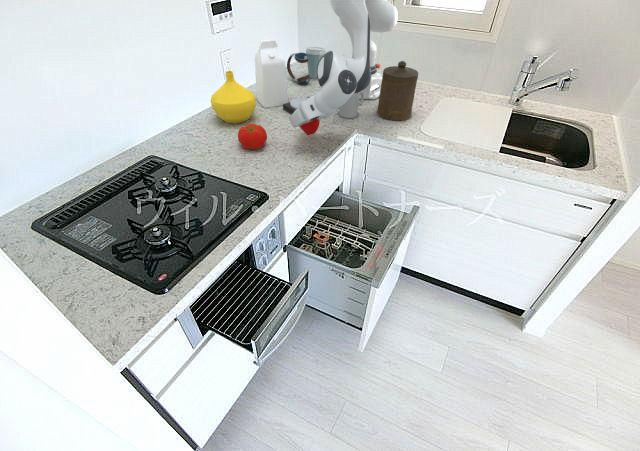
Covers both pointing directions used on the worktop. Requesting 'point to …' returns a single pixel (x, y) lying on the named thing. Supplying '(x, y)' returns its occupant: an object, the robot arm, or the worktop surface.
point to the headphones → (301, 59)
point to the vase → (233, 101)
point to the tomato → (252, 136)
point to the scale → (294, 104)
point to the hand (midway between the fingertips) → (306, 121)
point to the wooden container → (397, 92)
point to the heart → (310, 127)
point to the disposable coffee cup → (314, 59)
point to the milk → (270, 75)
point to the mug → (351, 106)
